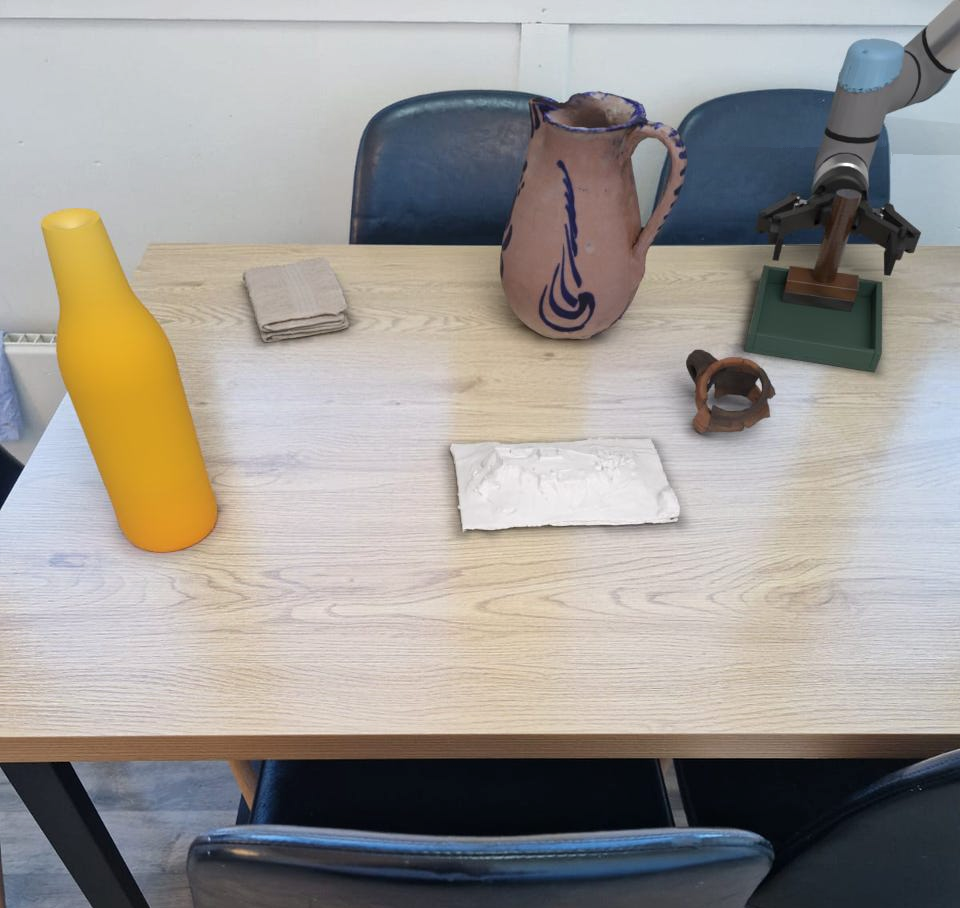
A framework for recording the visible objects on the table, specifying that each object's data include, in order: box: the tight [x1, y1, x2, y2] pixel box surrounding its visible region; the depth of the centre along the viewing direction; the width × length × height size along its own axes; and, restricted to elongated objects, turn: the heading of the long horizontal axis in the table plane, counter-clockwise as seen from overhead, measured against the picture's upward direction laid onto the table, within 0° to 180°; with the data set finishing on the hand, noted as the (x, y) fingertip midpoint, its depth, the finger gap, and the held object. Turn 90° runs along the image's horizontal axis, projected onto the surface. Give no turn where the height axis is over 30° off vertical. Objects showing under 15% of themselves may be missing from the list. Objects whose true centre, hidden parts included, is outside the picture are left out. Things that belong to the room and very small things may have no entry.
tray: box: [744, 265, 883, 373], centre depth 111 cm, size 16×20×2 cm
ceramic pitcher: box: [499, 90, 688, 340], centre depth 102 cm, size 18×21×25 cm
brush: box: [781, 189, 862, 312], centre depth 111 cm, size 9×4×14 cm, turn 72°
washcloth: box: [242, 257, 350, 343], centre depth 113 cm, size 12×18×3 cm, turn 19°
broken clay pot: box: [685, 349, 776, 434], centre depth 96 cm, size 12×10×8 cm
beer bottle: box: [40, 207, 218, 553], centre depth 74 cm, size 9×9×29 cm
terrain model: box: [449, 436, 681, 533], centre depth 88 cm, size 17×23×5 cm
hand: (833, 257), depth 107 cm, fingers open, 13 cm apart
